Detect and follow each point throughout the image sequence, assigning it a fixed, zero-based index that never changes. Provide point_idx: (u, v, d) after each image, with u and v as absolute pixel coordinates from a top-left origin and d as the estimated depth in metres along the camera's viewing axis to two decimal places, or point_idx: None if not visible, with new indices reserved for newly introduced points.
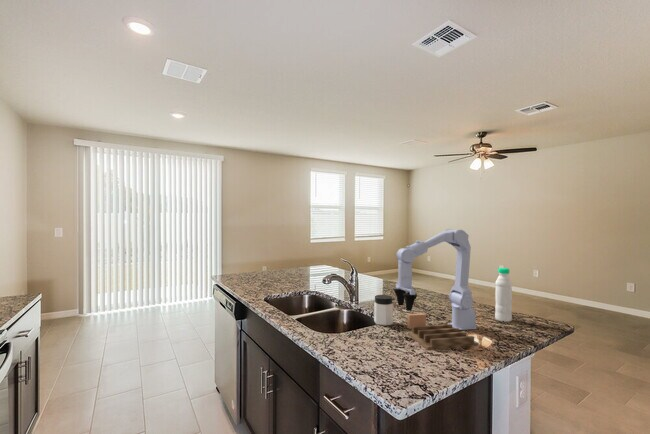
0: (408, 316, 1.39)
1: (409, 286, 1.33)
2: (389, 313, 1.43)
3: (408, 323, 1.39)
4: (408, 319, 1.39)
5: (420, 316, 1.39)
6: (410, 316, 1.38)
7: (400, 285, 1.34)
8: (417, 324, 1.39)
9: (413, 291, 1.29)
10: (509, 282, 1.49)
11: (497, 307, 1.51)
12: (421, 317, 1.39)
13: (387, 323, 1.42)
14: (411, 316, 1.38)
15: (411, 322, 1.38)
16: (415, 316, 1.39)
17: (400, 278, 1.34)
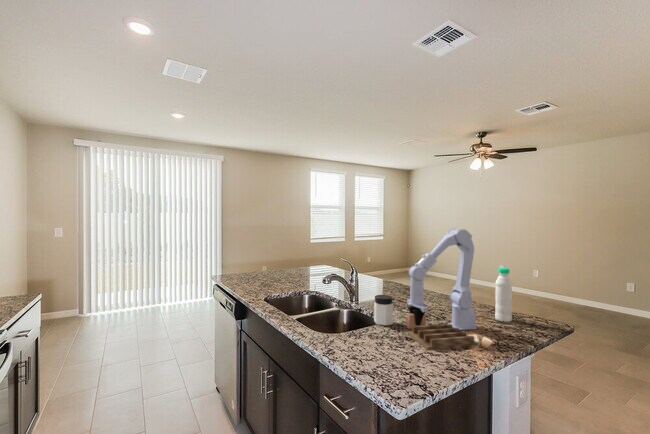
0: (408, 316, 1.39)
1: (421, 303, 1.37)
2: (389, 313, 1.43)
3: (408, 323, 1.39)
4: (408, 319, 1.39)
5: None
6: (410, 316, 1.38)
7: (412, 302, 1.38)
8: None
9: (425, 308, 1.33)
10: (509, 282, 1.49)
11: (497, 307, 1.51)
12: None
13: (387, 323, 1.42)
14: (411, 316, 1.38)
15: (411, 321, 1.38)
16: None
17: (412, 295, 1.38)
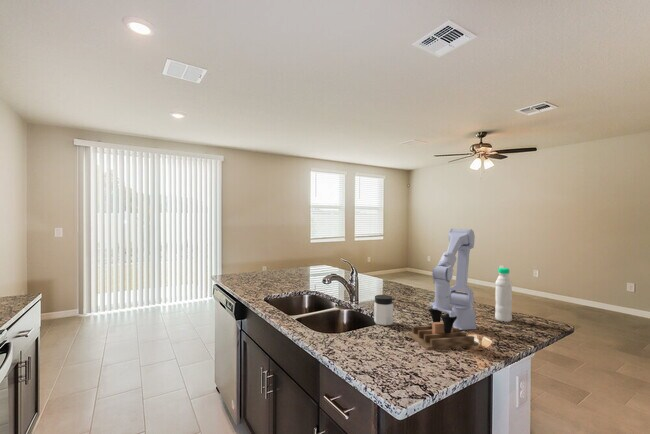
0: (433, 325, 1.25)
1: (447, 307, 1.23)
2: (389, 313, 1.43)
3: (433, 333, 1.25)
4: (433, 328, 1.25)
5: None
6: (436, 325, 1.24)
7: (437, 305, 1.24)
8: None
9: (453, 313, 1.19)
10: (509, 282, 1.49)
11: (497, 307, 1.51)
12: None
13: (387, 323, 1.42)
14: (437, 325, 1.24)
15: (437, 331, 1.24)
16: (441, 325, 1.25)
17: (437, 298, 1.24)
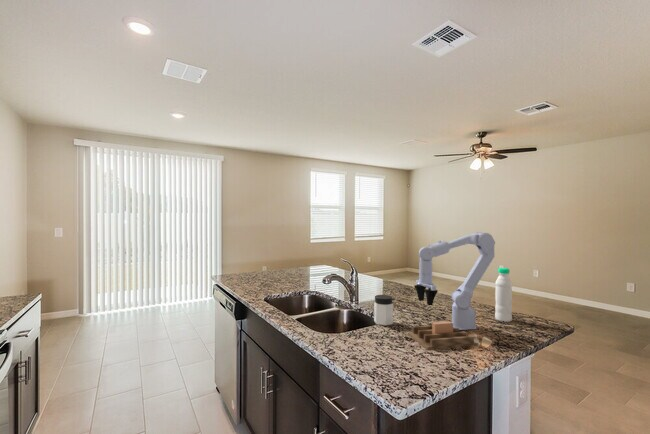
0: (433, 325, 1.25)
1: (430, 282, 1.42)
2: (389, 313, 1.43)
3: (433, 333, 1.25)
4: (433, 328, 1.25)
5: (447, 325, 1.25)
6: (436, 325, 1.24)
7: (421, 281, 1.43)
8: None
9: (434, 287, 1.37)
10: (509, 282, 1.49)
11: (497, 307, 1.51)
12: (448, 326, 1.25)
13: (387, 323, 1.42)
14: (437, 325, 1.24)
15: (437, 331, 1.24)
16: (441, 325, 1.25)
17: (421, 275, 1.43)
